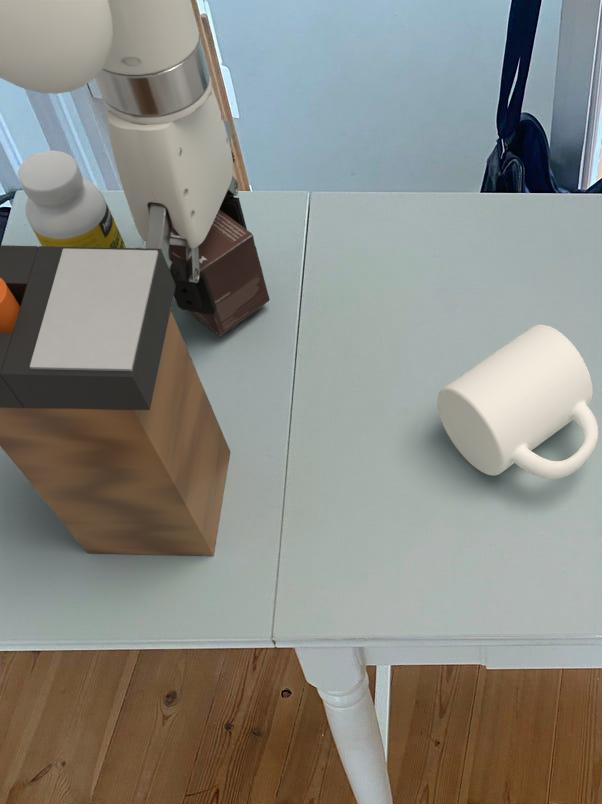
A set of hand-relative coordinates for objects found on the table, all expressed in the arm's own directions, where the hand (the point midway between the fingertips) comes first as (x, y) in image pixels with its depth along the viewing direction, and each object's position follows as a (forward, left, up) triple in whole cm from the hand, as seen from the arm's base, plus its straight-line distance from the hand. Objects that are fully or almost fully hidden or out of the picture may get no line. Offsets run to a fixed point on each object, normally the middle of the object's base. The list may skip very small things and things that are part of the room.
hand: (214, 271), depth 76 cm
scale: (+11, -17, +14) cm, 25 cm away
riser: (+11, -17, -4) cm, 21 cm away
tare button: (+8, -20, +15) cm, 26 cm away
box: (0, 0, -4) cm, 4 cm away
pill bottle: (-11, -5, -5) cm, 13 cm away
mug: (+30, +7, -5) cm, 31 cm away
